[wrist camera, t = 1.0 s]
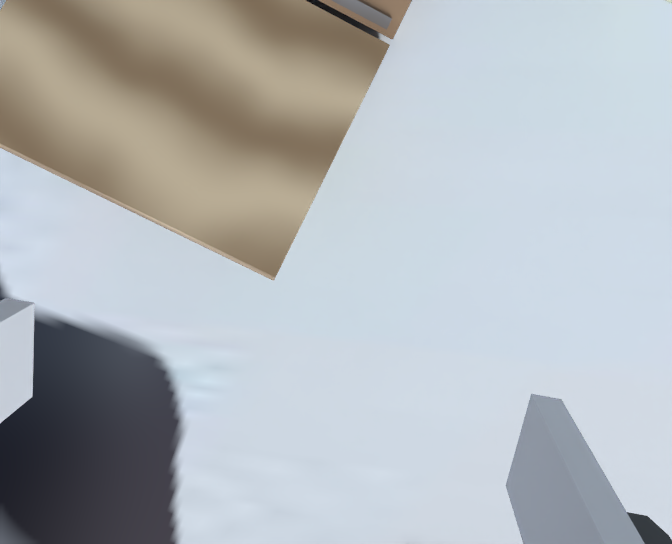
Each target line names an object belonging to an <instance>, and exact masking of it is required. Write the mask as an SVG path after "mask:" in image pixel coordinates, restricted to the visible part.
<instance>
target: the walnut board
mask: <svg viewBox="0 0 672 544" xmlns="http://www.w3.org/2000/svg"><path fill="white" fill-rule="evenodd" d="M319 1H321V2H322V3H324V4H326V5H328V6H330V7H332V8H334V9H336V10H338V11H339V12H341V13H343V14H345V15H347V16H349V17H351V18H353V19H355V20H356V21H358V22H360V23H362V24H364V25H366V26H368V27H370V28H372V29H373V30H375V31H377V32H379V33H381V34H383V35H385V36H387V37H389V38H390V39H393V38H394V36H395V34H396V32H397V30H398V28H399V26H400V23H401V21H402V19H403V17H404V15H405V13H406V11H407V9H408V7H409V5H410V3H411V1H412V0H319Z"/></svg>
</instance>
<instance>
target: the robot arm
mask: <svg viewBox="0 0 672 544" xmlns="http://www.w3.org/2000/svg"><path fill="white" fill-rule="evenodd" d="M33 345H34V303H32V302H26V301H21V300H15V299H10V298H5V299H3V300H1V301H0V423H1V422H2V421H3V420H5V419H6V418H7V417H8V416H9V415H11V414H12V413H13V412H14V411H15V410H16V409H18V408H19V407H20V406H21V405H23V404H24V403H25V402H26V401H27V400H28V399H30V398H31V397H32V392H33V389H32V388H33ZM506 488H507V491H508V494H509V498H510V501H511V504H512V508H513V511H514V514H515V517H516V521H517V524H518V527H519V530H520V534H521V537H522V540H523V544H672V540H671V539H670V537H669V535H668V534H666V533H665V532H664V531H663V530H662V529H661V528H660V527H659V526H658V525H656V524H655V523H654V522H653V521H652V520H651V519H650V518H649V517H648V516H644V515H639V514H634V513H628V512H626V510H625V509H624V507H623V505H622V503H621V502H620V500H619V498H618V497H617V495H616V493H615V491H614V490H613V488H612V486H611V484H610V483H609V481H608V479H607V478H606V476H605V474H604V472H603V471H602V469H601V467H600V465H599V464H598V462H597V460H596V459H595V457H594V455H593V453H592V452H591V450H590V448H589V446H588V445H587V443H586V441H585V440H584V438H583V436H582V434H581V433H580V431H579V429H578V427H577V426H576V424H575V422H574V421H573V419H572V417H571V415H570V414H569V412H568V410H567V408H566V407H565V405H564V403H563V402H562V400H561V399H556V398H551V397H546V396H540V395H535V394H531V397H530V400H529V404H528V408H527V411H526V415H525V418H524V422H523V426H522V429H521V433H520V436H519V440H518V444H517V447H516V451H515V454H514V458H513V462H512V465H511V469H510V472H509V476H508V480H507V483H506Z"/></svg>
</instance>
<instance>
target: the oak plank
mask: <svg viewBox="0 0 672 544" xmlns="http://www.w3.org/2000/svg"><path fill="white" fill-rule="evenodd" d="M388 48H389V44H387V43H385V42H383V41H381V40H380V39H378V38H376V37H374V36H372V35H370V34H368V33H366V32H364V31H362V30H361V29H359V28H357V27H355V26H353V25H351V24H349V23H347V22H345V21H344V20H342V19H340V18H338V17H336V16H334V15H332V14H330V13H328V12H327V11H325V10H323V9H321V8H319V7H317V6H315V5H313V4H311V3H310V2H308V1H306V0H6V2H5V4H4V5H3V7H2V9H1V10H0V148H2V149H4V150H6V151H8V152H10V153H12V154H14V155H16V156H18V157H20V158H22V159H24V160H26V161H29V162H31V163H33V164H35V165H37V166H39V167H41V168H43V169H45V170H47V171H49V172H51V173H53V174H55V175H57V176H59V177H61V178H64V179H66V180H68V181H70V182H72V183H74V184H76V185H78V186H80V187H82V188H84V189H86V190H88V191H90V192H92V193H94V194H96V195H98V196H101V197H103V198H105V199H107V200H109V201H111V202H113V203H115V204H117V205H119V206H121V207H123V208H125V209H127V210H129V211H131V212H133V213H136V214H138V215H140V216H142V217H144V218H146V219H148V220H150V221H152V222H154V223H156V224H158V225H160V226H162V227H164V228H166V229H168V230H170V231H173V232H175V233H177V234H179V235H181V236H183V237H185V238H187V239H189V240H191V241H193V242H195V243H197V244H199V245H201V246H203V247H205V248H208V249H210V250H212V251H214V252H216V253H218V254H220V255H222V256H224V257H226V258H228V259H230V260H232V261H234V262H236V263H238V264H240V265H242V266H245V267H247V268H249V269H251V270H253V271H255V272H257V273H259V274H261V275H263V276H265V277H267V278H269V279H271V280H273V281H274V279H275V277H276V275H277V273H278V271H279V269H280V267H281V265H282V263H283V261H284V259H285V257H286V255H287V253H288V251H289V249H290V247H291V245H292V243H293V241H294V239H295V237H296V235H297V233H298V231H299V229H300V227H301V224H302V222H303V220H304V218H305V216H306V214H307V212H308V210H309V208H310V206H311V204H312V202H313V200H314V198H315V196H316V194H317V192H318V190H319V188H320V186H321V184H322V182H323V180H324V178H325V176H326V174H327V172H328V170H329V168H330V166H331V164H332V162H333V160H334V158H335V156H336V153H337V151H338V149H339V147H340V145H341V143H342V141H343V139H344V137H345V135H346V133H347V131H348V129H349V127H350V125H351V123H352V121H353V119H354V117H355V115H356V113H357V111H358V109H359V107H360V105H361V103H362V101H363V99H364V97H365V95H366V93H367V91H368V89H369V87H370V85H371V83H372V80H373V78H374V76H375V74H376V72H377V70H378V68H379V66H380V64H381V62H382V60H383V58H384V56H385V54H386V52H387V50H388Z"/></svg>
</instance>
